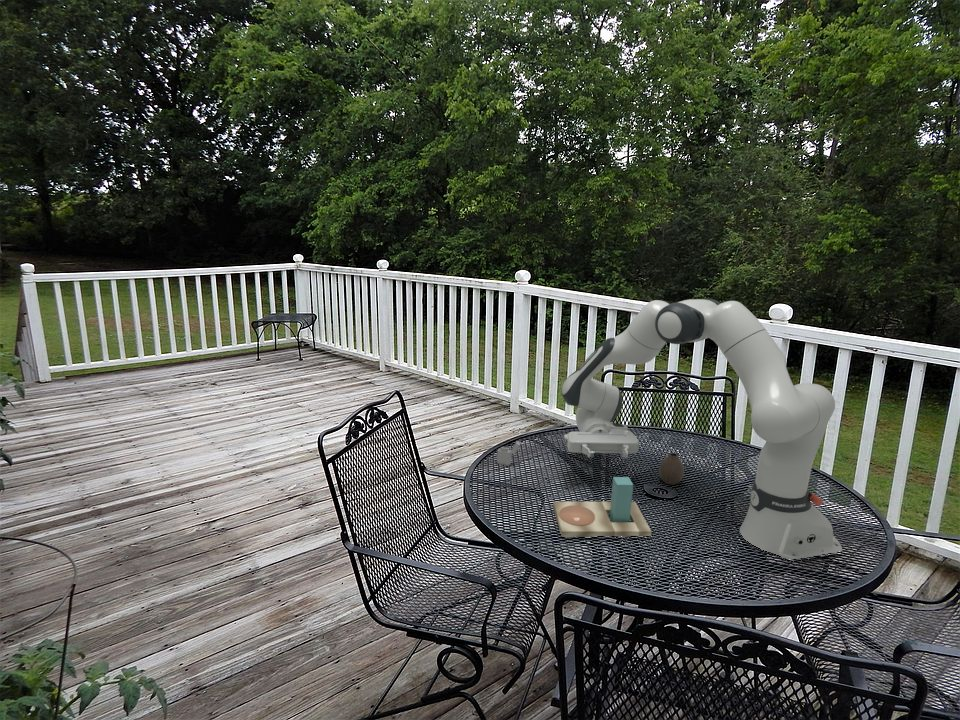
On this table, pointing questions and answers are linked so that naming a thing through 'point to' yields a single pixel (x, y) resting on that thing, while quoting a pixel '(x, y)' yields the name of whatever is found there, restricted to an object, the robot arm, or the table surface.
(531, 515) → the table surface
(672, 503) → the table surface
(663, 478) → the vase
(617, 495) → the peg
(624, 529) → the pocket board
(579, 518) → the tan flat disc
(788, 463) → the robot arm
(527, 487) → the table surface
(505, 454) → the lighter
